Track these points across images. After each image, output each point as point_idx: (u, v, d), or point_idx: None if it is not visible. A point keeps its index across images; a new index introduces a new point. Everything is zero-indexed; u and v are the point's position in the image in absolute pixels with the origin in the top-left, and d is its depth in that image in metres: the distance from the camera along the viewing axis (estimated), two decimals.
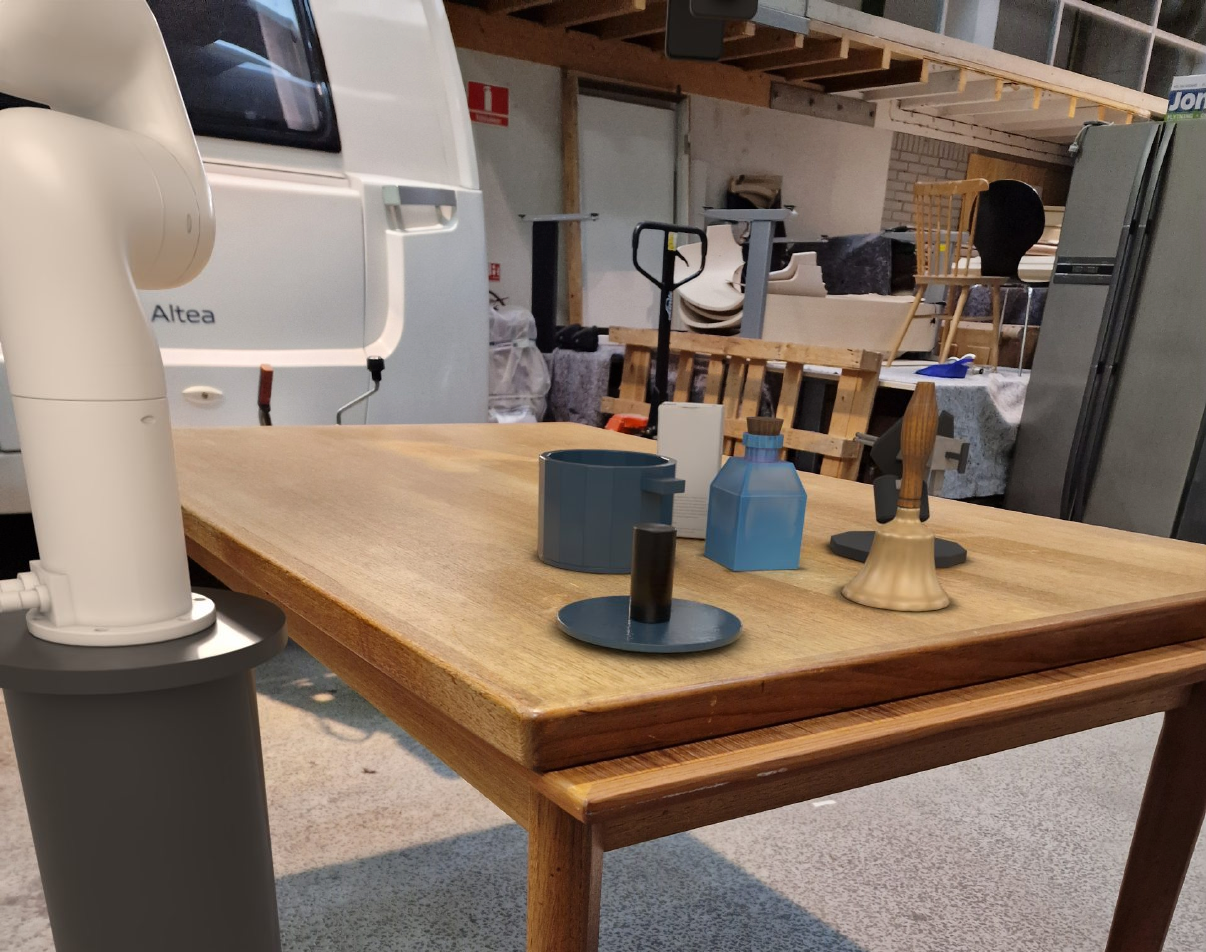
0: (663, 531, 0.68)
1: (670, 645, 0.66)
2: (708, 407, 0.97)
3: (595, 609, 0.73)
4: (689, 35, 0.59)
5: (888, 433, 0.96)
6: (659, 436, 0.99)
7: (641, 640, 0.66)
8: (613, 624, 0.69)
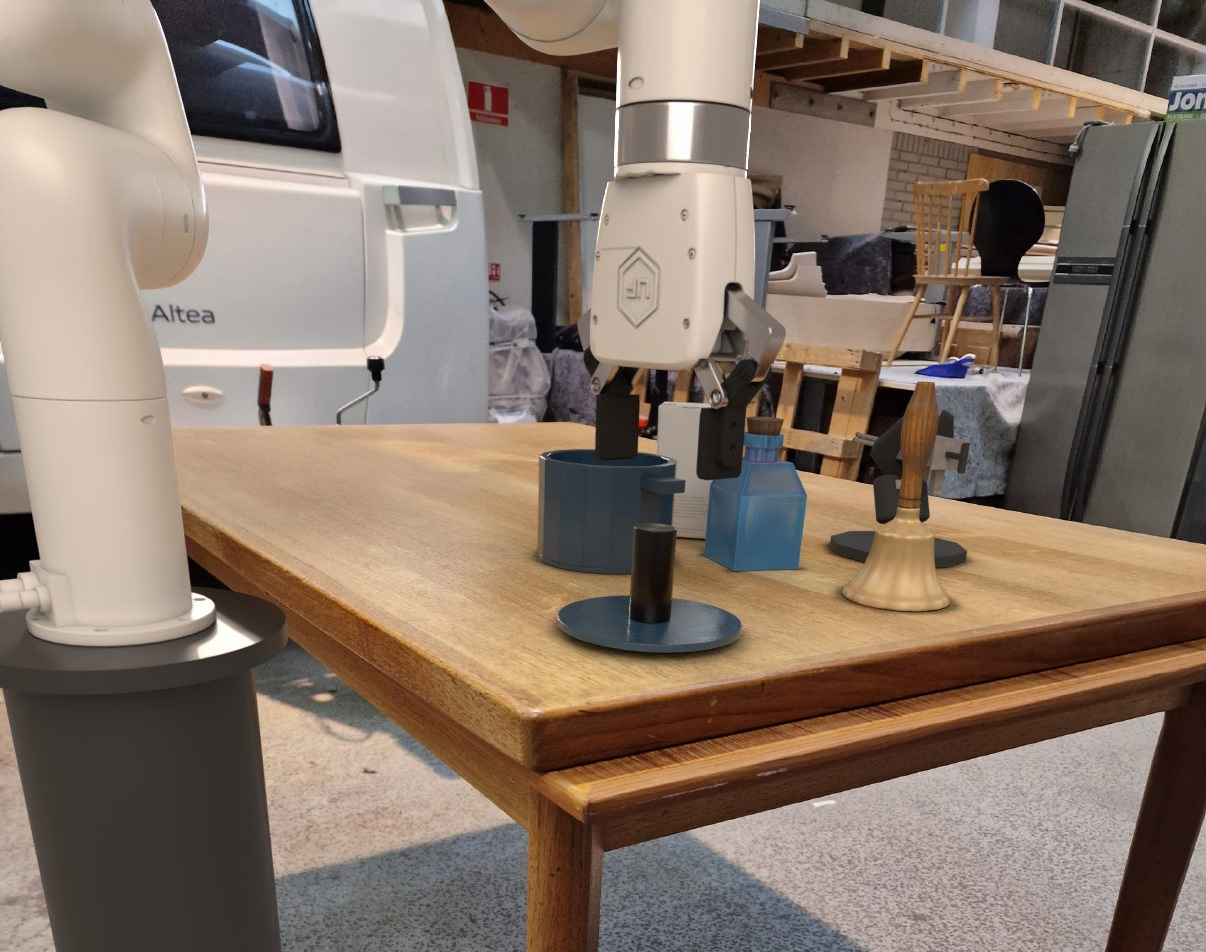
0: (663, 531, 0.68)
1: (670, 645, 0.66)
2: (708, 407, 0.97)
3: (595, 609, 0.73)
4: (616, 443, 0.70)
5: (888, 433, 0.96)
6: (659, 436, 0.99)
7: (641, 640, 0.66)
8: (613, 624, 0.69)
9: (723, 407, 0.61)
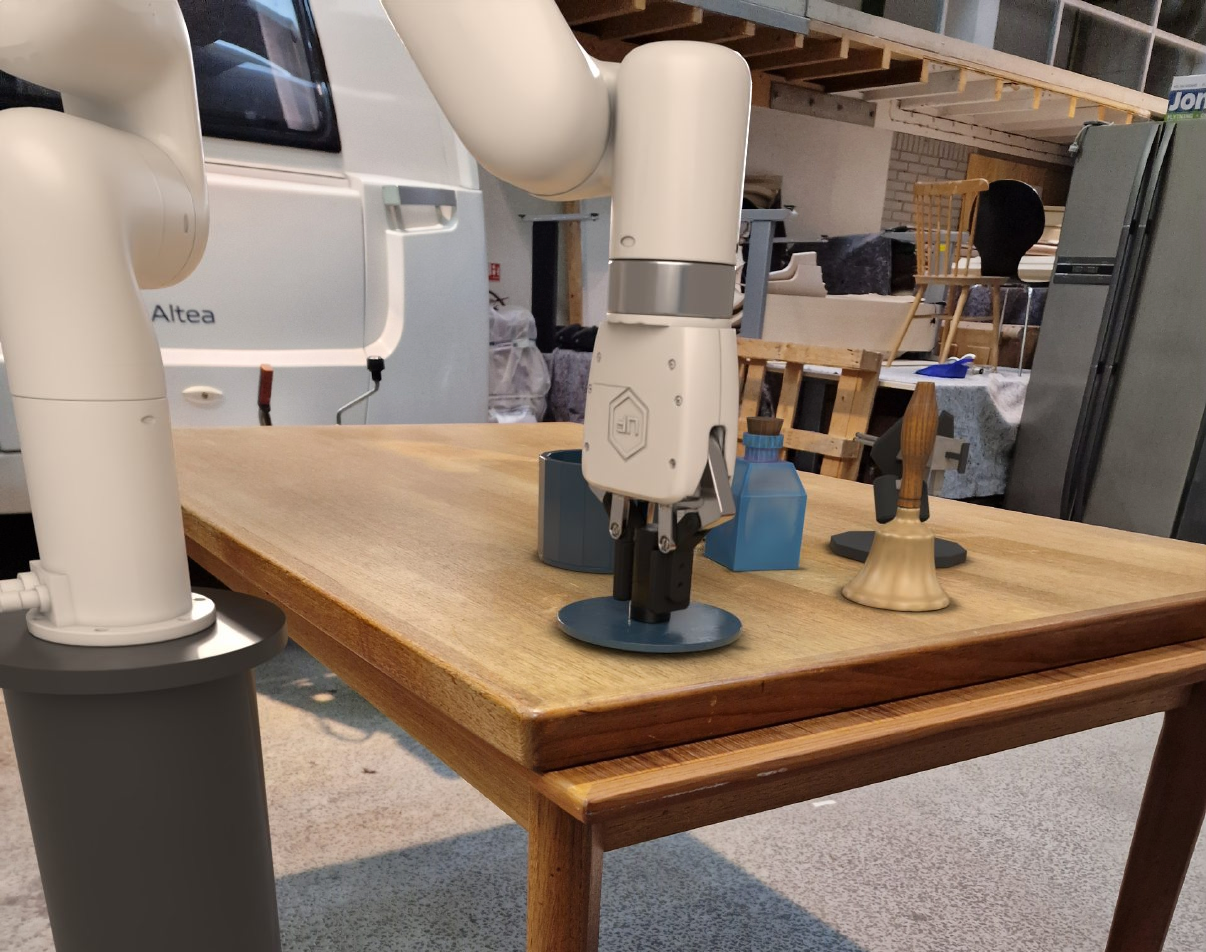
0: None
1: (670, 645, 0.66)
2: None
3: (595, 609, 0.73)
4: None
5: (888, 433, 0.96)
6: None
7: (641, 640, 0.66)
8: (613, 624, 0.69)
9: (671, 552, 0.67)
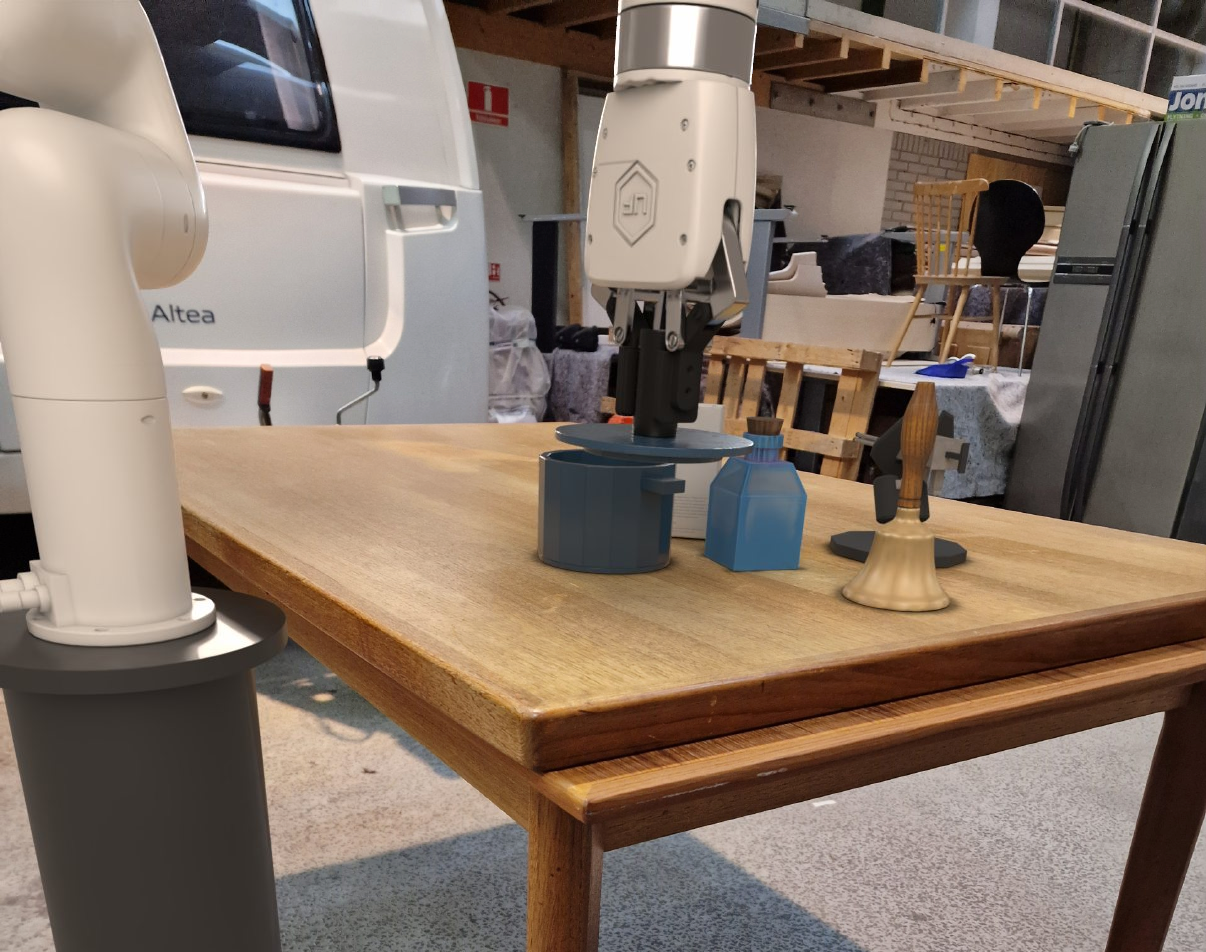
0: None
1: (677, 448, 0.61)
2: (708, 407, 0.97)
3: (596, 428, 0.68)
4: None
5: (888, 433, 0.96)
6: None
7: (645, 444, 0.61)
8: (615, 436, 0.64)
9: (679, 350, 0.62)
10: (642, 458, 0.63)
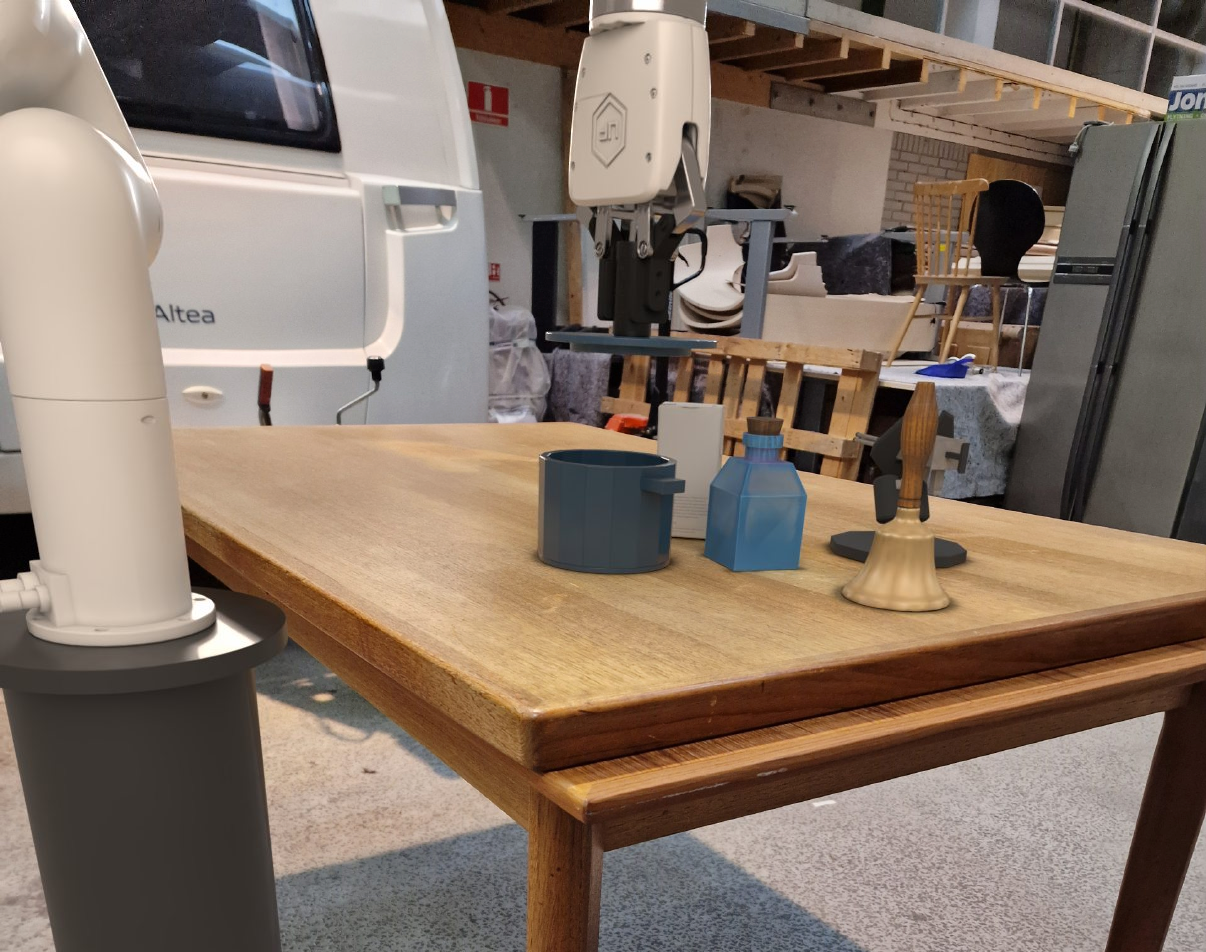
0: None
1: (647, 339, 0.71)
2: (708, 407, 0.97)
3: None
4: None
5: (888, 433, 0.96)
6: (659, 436, 0.99)
7: (621, 337, 0.72)
8: None
9: (649, 257, 0.72)
10: (619, 351, 0.73)
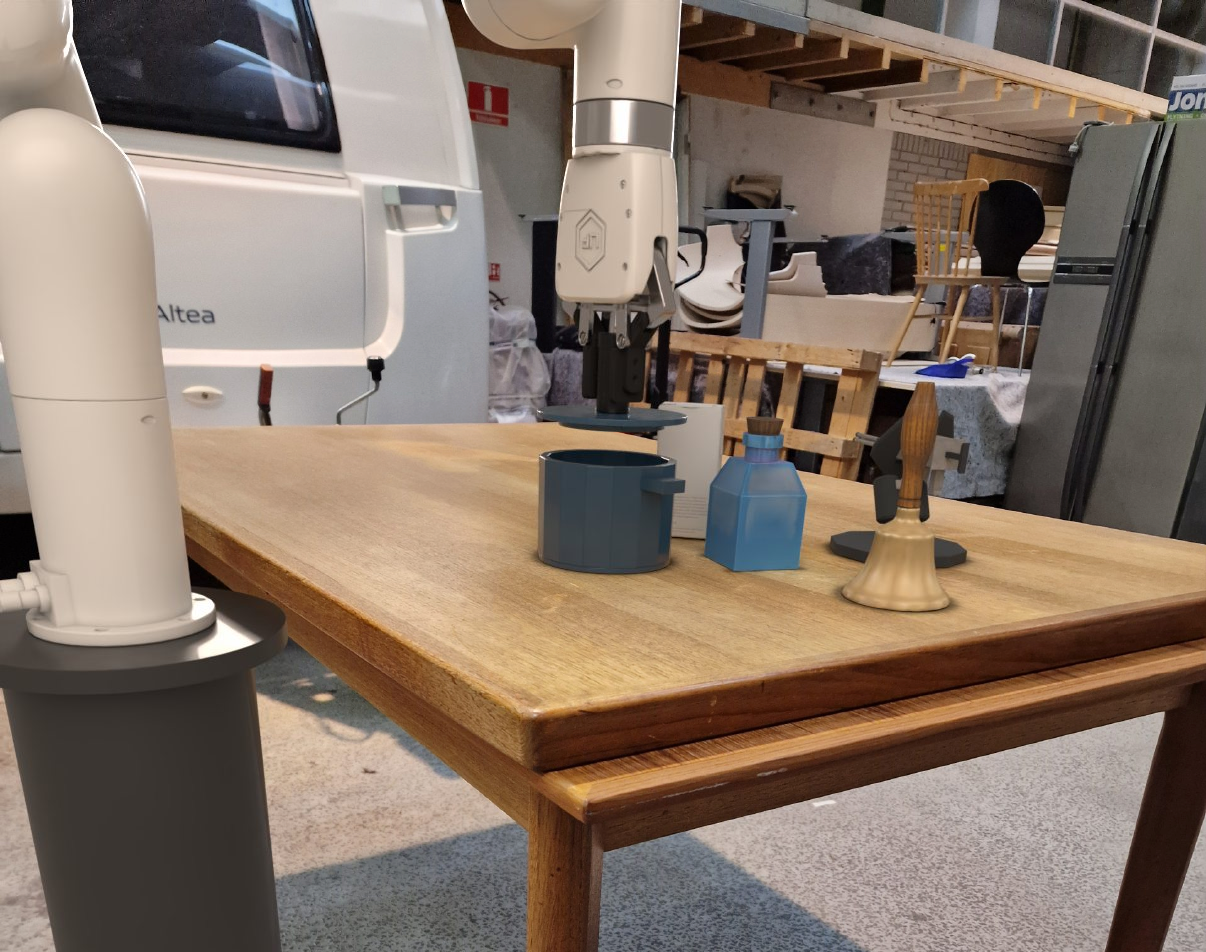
0: None
1: (626, 420, 0.82)
2: (708, 407, 0.97)
3: (568, 408, 0.89)
4: None
5: (888, 433, 0.96)
6: (659, 436, 0.99)
7: (603, 418, 0.83)
8: (582, 413, 0.86)
9: (626, 347, 0.83)
10: (601, 428, 0.84)
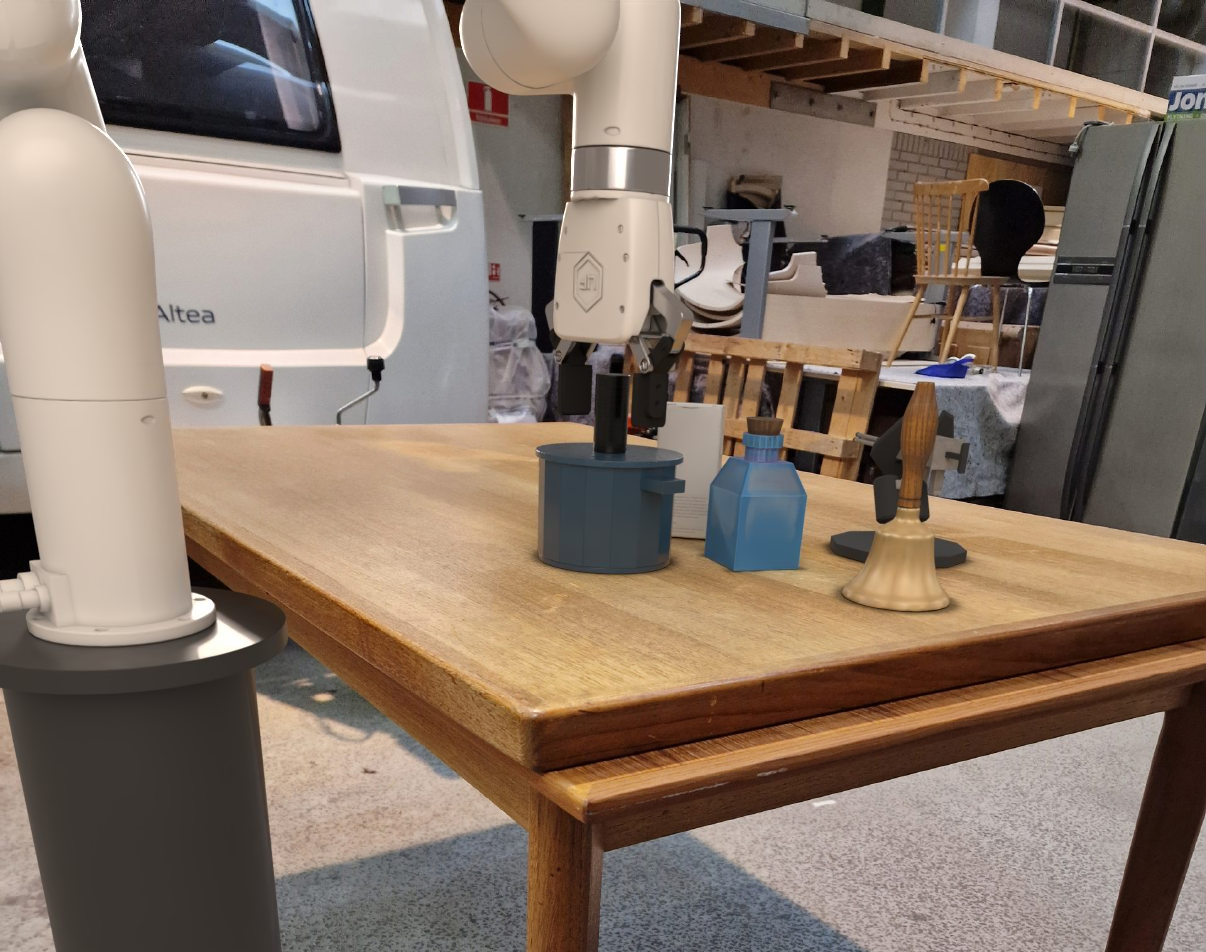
0: (619, 375, 0.85)
1: (623, 462, 0.83)
2: (708, 407, 0.97)
3: (566, 447, 0.90)
4: (574, 402, 0.90)
5: (888, 433, 0.96)
6: (659, 436, 0.99)
7: (600, 459, 0.84)
8: (580, 453, 0.87)
9: (649, 372, 0.81)
10: None
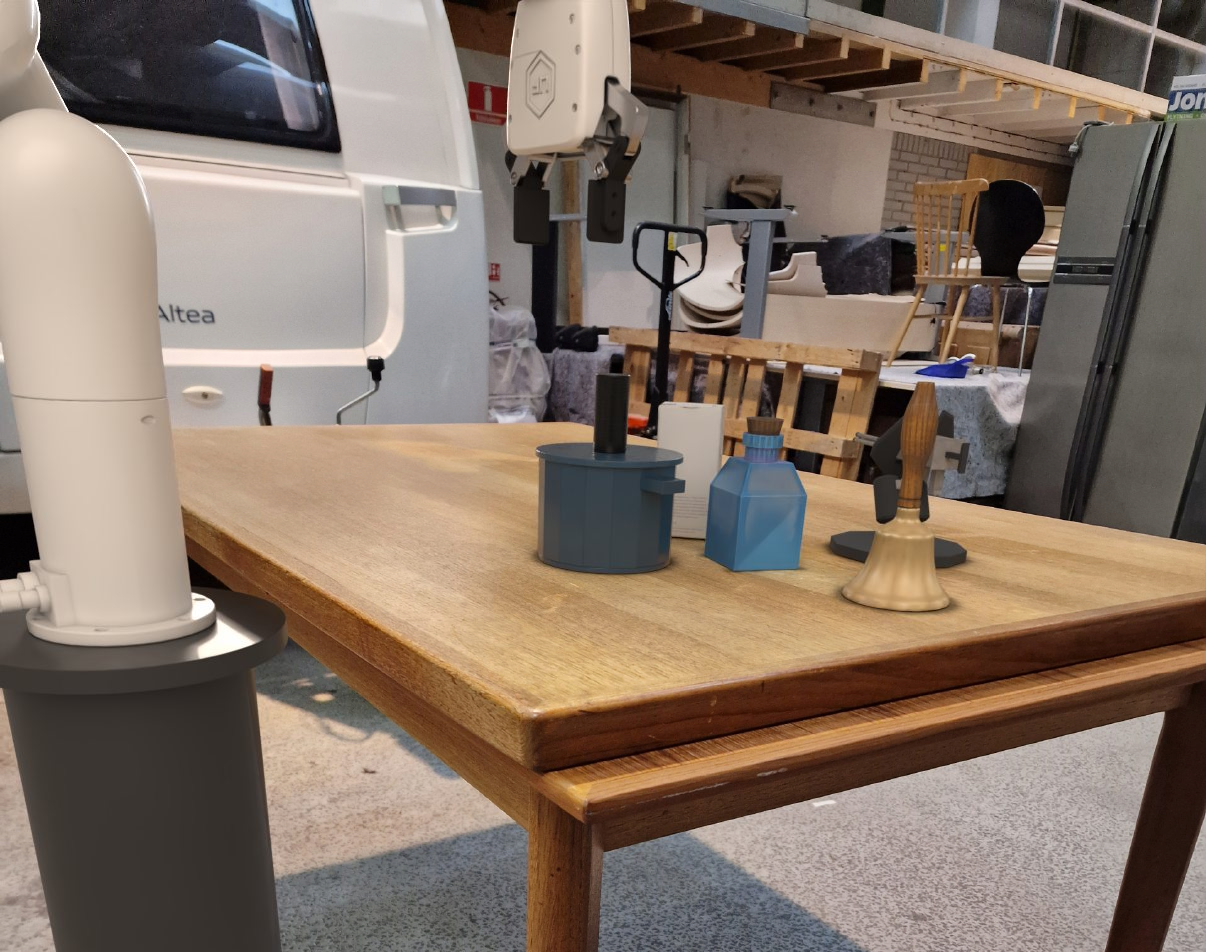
0: (619, 375, 0.85)
1: (623, 462, 0.83)
2: (708, 407, 0.97)
3: (566, 447, 0.90)
4: (530, 229, 0.86)
5: (888, 433, 0.96)
6: (659, 436, 0.99)
7: (600, 459, 0.84)
8: (580, 453, 0.87)
9: (605, 178, 0.78)
10: None
